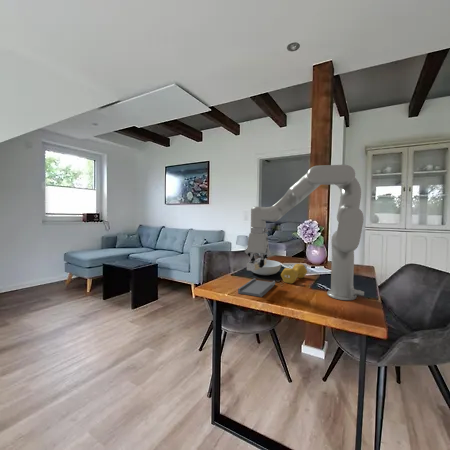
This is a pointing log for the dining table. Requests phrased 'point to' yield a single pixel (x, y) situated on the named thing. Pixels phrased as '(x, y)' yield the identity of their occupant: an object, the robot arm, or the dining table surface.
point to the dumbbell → (293, 273)
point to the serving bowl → (269, 268)
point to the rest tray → (256, 288)
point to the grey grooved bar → (254, 264)
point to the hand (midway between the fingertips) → (257, 266)
